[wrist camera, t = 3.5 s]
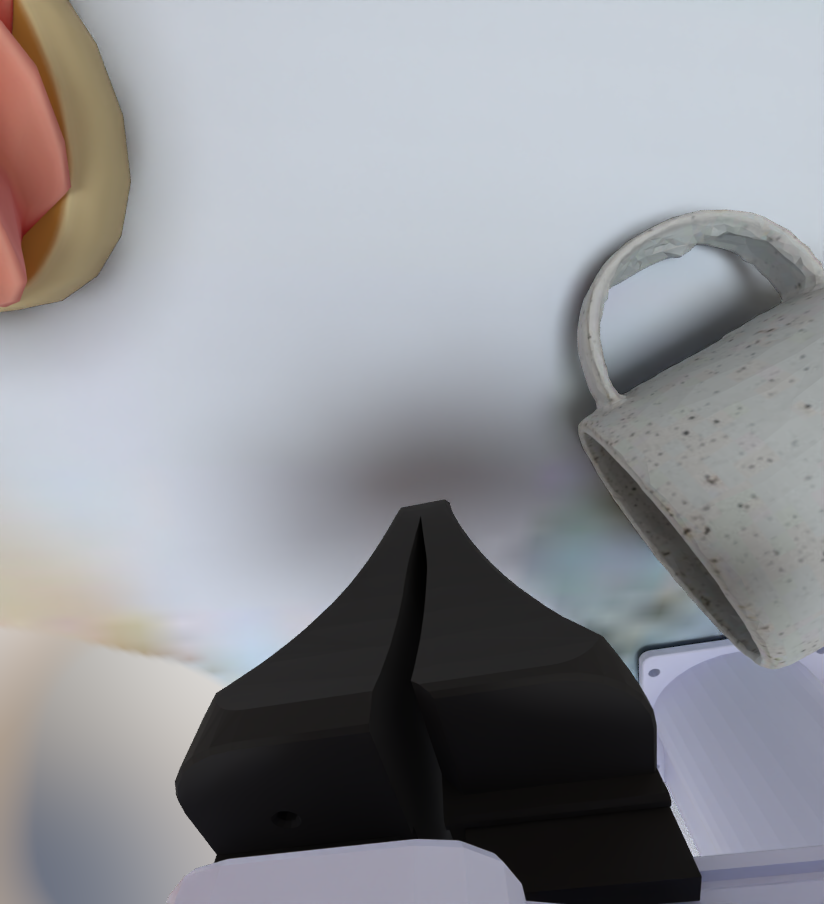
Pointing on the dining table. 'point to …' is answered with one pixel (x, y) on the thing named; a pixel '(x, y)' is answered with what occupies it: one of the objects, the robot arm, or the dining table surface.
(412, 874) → the robot arm
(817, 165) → the dining table surface
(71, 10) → the cake
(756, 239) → the ceramic mug
